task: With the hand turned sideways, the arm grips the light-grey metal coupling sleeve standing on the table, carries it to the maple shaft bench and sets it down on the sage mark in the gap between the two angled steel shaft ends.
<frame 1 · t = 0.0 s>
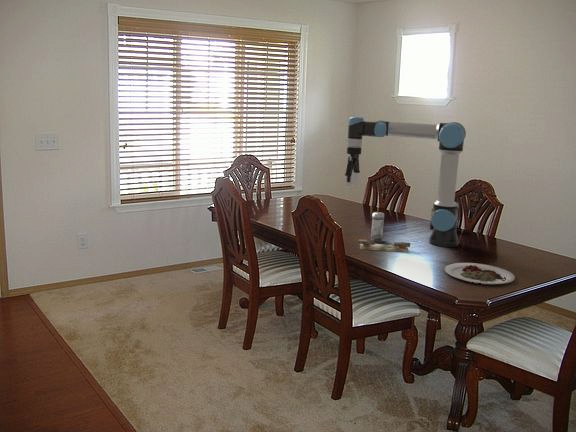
hand: (351, 186, 327), 28 cm above the table, tool pointing down, fingers open, 13 cm apart
shaft bench: (383, 248, 313), on the table
mug: (441, 229, 363), on the table
plated food: (478, 276, 275), on the table
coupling: (376, 240, 329), on the table
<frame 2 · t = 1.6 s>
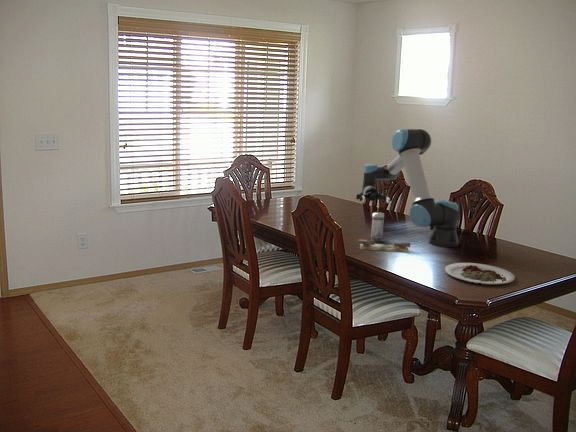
hand: (376, 200, 334), 20 cm above the table, tool horizontal, fingers open, 13 cm apart
nothing on the table moved.
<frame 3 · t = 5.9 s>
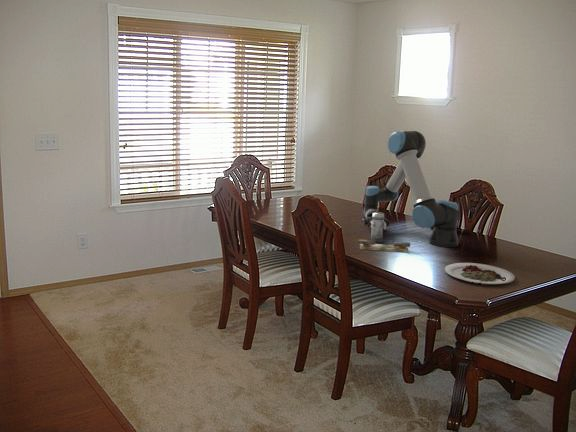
hand: (378, 226, 322), 9 cm above the table, tool horizontal, fingers closed on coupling, 6 cm apart
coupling: (376, 240, 329), on the table, touching gripper
everything else where it was.
when the fingers open (12 cm above the table, at t = 11.1 s): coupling drops 1 cm, point 1 cm above the table.
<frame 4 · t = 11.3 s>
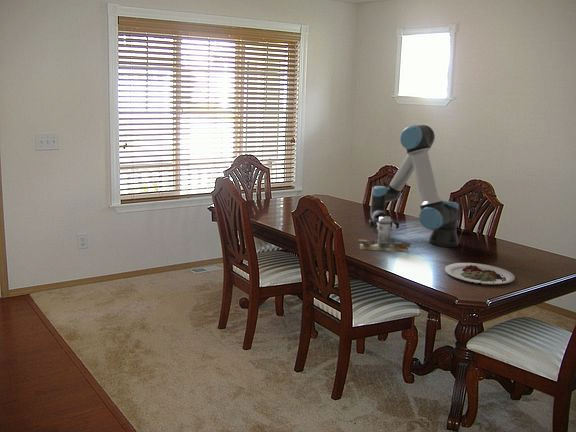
hand: (387, 228, 306), 12 cm above the table, tool horizontal, fingers open, 7 cm apart
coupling: (383, 245, 313), point 1 cm above the table, touching gripper
everything else where it was.
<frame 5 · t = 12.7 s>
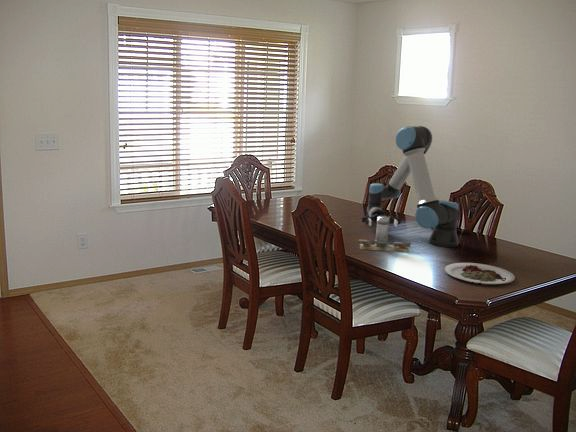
hand: (383, 224, 315), 12 cm above the table, tool horizontal, fingers open, 13 cm apart
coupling: (381, 245, 313), point 1 cm above the table, touching shaft bench
everything else where it was.
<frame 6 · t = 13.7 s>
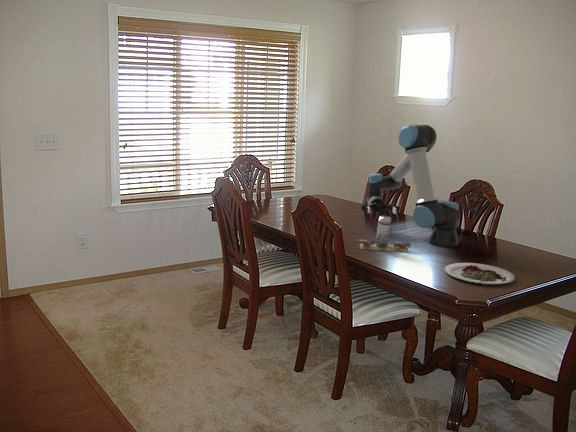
hand: (382, 211, 320), 17 cm above the table, tool horizontal, fingers open, 13 cm apart
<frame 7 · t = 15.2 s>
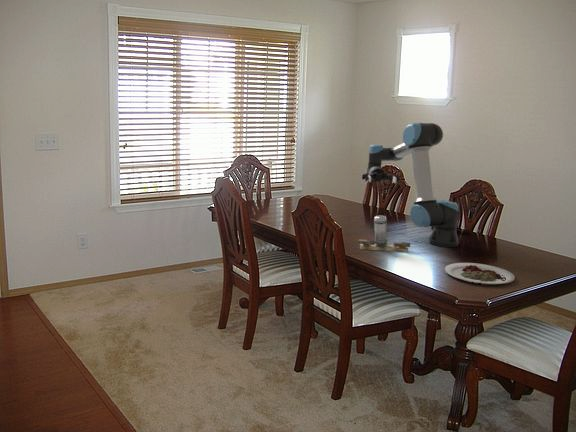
hand: (383, 180, 327), 32 cm above the table, tool horizontal, fingers open, 13 cm apart
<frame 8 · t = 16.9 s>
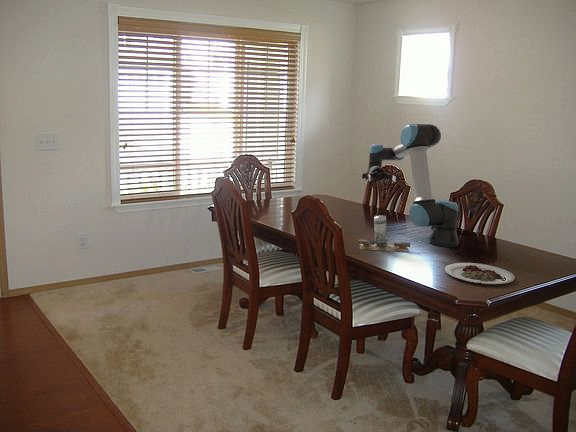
hand: (382, 179, 331), 32 cm above the table, tool horizontal, fingers open, 13 cm apart
nothing on the table moved.
at the end: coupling inside the target area on the shaft bench (1.5 cm from its centre), point 1.6 cm above the shaft bench's base; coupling tilted 6°; the gripper is holding nothing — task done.
